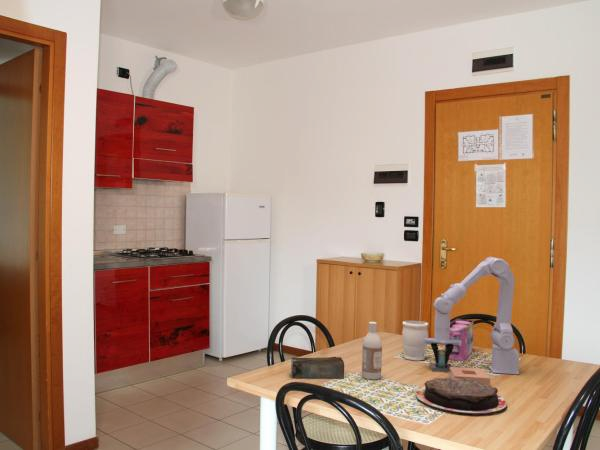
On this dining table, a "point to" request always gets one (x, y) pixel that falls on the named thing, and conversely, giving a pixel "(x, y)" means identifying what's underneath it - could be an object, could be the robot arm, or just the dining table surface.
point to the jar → (414, 339)
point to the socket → (470, 374)
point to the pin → (441, 358)
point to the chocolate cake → (461, 396)
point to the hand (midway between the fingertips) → (441, 363)
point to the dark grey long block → (317, 368)
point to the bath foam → (372, 354)
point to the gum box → (461, 338)
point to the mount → (440, 369)
